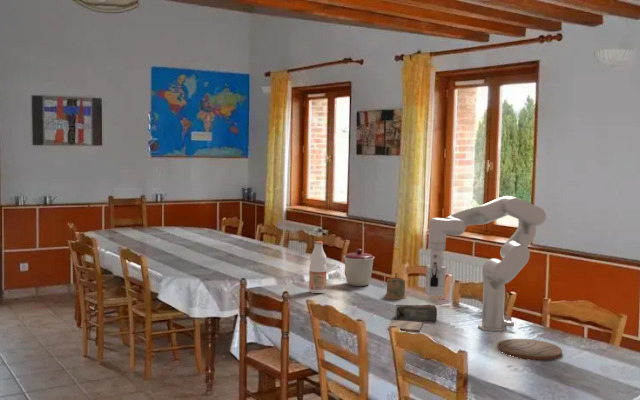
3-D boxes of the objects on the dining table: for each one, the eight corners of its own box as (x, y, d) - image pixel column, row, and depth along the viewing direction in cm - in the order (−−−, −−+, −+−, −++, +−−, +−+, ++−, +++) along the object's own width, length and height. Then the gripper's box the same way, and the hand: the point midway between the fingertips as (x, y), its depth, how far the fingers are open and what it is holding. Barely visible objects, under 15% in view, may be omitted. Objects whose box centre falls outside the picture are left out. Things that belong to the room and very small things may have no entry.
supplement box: (441, 292, 323) (442, 264, 322) (444, 296, 315) (446, 267, 314) (424, 292, 322) (426, 264, 321) (428, 295, 315) (429, 267, 314)
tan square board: (422, 324, 329) (422, 322, 328) (419, 332, 315) (419, 330, 315) (392, 322, 332) (392, 319, 332) (387, 329, 318) (387, 327, 318)
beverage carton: (394, 316, 344) (395, 302, 343) (435, 317, 344) (435, 304, 343) (396, 320, 336) (396, 306, 335) (437, 321, 336) (437, 307, 335)
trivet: (573, 353, 290) (573, 348, 290) (542, 365, 273) (542, 360, 273) (517, 339, 308) (518, 335, 308) (485, 350, 291) (485, 346, 290)
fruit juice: (305, 292, 393) (306, 241, 391) (317, 289, 400) (318, 240, 398) (317, 294, 387) (318, 243, 384) (329, 292, 393) (330, 242, 391)
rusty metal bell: (405, 292, 398) (406, 271, 397) (406, 299, 380) (407, 277, 379) (385, 291, 399) (385, 270, 398) (384, 298, 382) (385, 276, 381)
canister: (336, 283, 418) (337, 248, 416) (358, 280, 430) (359, 245, 428) (358, 289, 404) (359, 252, 403) (380, 285, 416) (381, 249, 415)
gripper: (444, 249, 308) (442, 289, 309) (446, 244, 325) (444, 281, 326) (426, 248, 310) (424, 287, 311) (429, 242, 327) (428, 280, 328)
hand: (434, 284), depth 319 cm, fingers closed on supplement box, 8 cm apart
